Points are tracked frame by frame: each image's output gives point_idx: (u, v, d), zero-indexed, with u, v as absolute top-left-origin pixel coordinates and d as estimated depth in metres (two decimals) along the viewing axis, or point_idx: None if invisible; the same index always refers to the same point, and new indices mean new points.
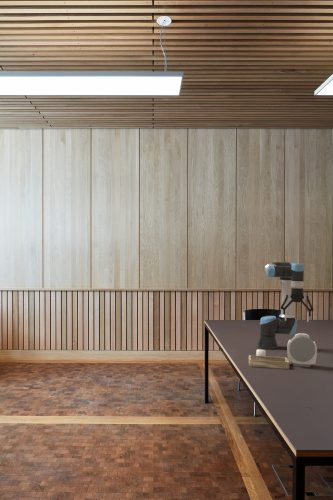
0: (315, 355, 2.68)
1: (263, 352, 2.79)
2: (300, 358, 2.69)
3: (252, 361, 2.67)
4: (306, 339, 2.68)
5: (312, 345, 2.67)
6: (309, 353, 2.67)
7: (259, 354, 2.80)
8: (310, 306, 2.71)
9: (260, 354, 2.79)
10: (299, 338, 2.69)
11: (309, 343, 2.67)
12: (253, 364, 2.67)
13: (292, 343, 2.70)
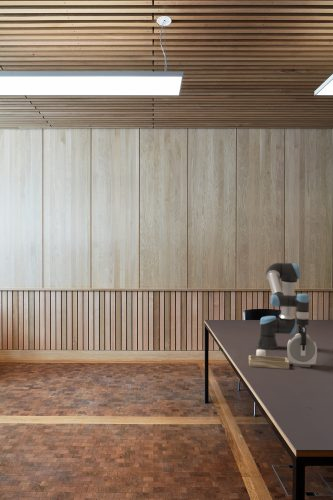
0: (315, 355, 2.68)
1: (263, 352, 2.79)
2: (300, 358, 2.69)
3: (252, 361, 2.67)
4: (306, 339, 2.68)
5: (312, 345, 2.67)
6: (309, 353, 2.67)
7: (259, 354, 2.80)
8: (301, 339, 2.66)
9: (260, 354, 2.79)
10: (299, 338, 2.69)
11: (309, 343, 2.67)
12: (253, 364, 2.67)
13: (292, 343, 2.70)
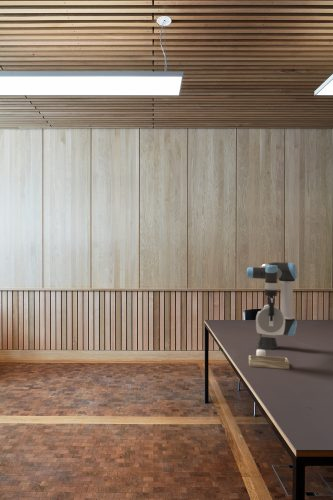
0: (283, 326, 2.67)
1: (263, 352, 2.79)
2: (268, 329, 2.68)
3: (252, 361, 2.67)
4: (274, 309, 2.67)
5: (280, 316, 2.66)
6: (277, 323, 2.67)
7: (259, 354, 2.80)
8: (269, 310, 2.65)
9: (260, 354, 2.79)
10: (267, 309, 2.68)
11: (277, 313, 2.67)
12: (253, 364, 2.67)
13: (260, 314, 2.69)
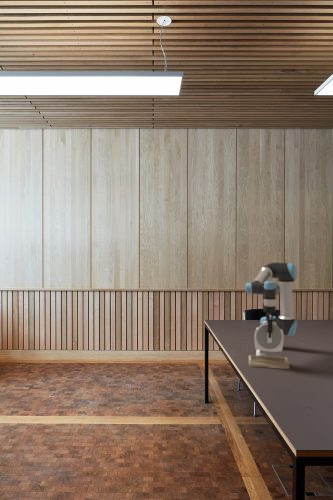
0: (282, 342, 2.67)
1: None
2: (266, 346, 2.68)
3: (252, 361, 2.67)
4: (272, 326, 2.67)
5: (278, 332, 2.66)
6: (275, 340, 2.66)
7: (259, 354, 2.80)
8: (268, 327, 2.65)
9: (260, 354, 2.79)
10: (266, 325, 2.68)
11: (276, 330, 2.66)
12: (253, 364, 2.67)
13: (259, 330, 2.69)
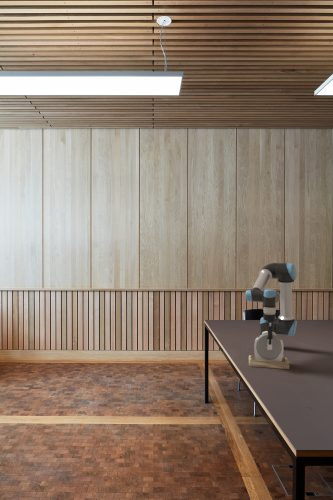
0: (281, 353, 2.67)
1: None
2: (266, 356, 2.68)
3: (252, 361, 2.67)
4: None
5: (278, 343, 2.66)
6: (275, 351, 2.67)
7: None
8: (268, 334, 2.64)
9: None
10: (266, 336, 2.68)
11: (275, 341, 2.67)
12: (253, 364, 2.67)
13: (259, 341, 2.69)
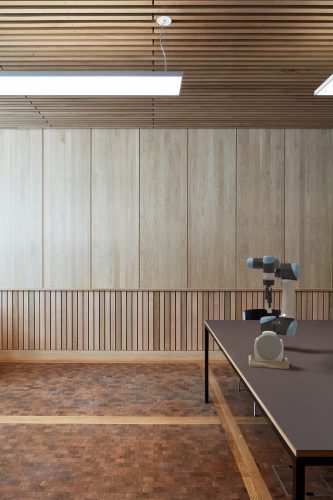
0: (281, 353, 2.67)
1: None
2: (266, 356, 2.68)
3: (252, 361, 2.67)
4: (272, 337, 2.67)
5: (278, 343, 2.66)
6: (275, 351, 2.67)
7: None
8: (268, 298, 2.75)
9: None
10: (266, 336, 2.68)
11: (275, 341, 2.67)
12: (253, 364, 2.67)
13: (259, 341, 2.69)
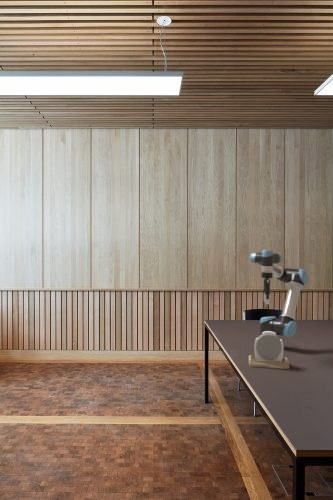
0: (281, 353, 2.67)
1: None
2: (266, 356, 2.68)
3: (252, 361, 2.67)
4: (272, 337, 2.67)
5: (278, 343, 2.66)
6: (275, 351, 2.67)
7: None
8: (266, 289, 2.88)
9: None
10: (266, 336, 2.68)
11: (275, 341, 2.67)
12: (253, 364, 2.67)
13: (259, 341, 2.69)
